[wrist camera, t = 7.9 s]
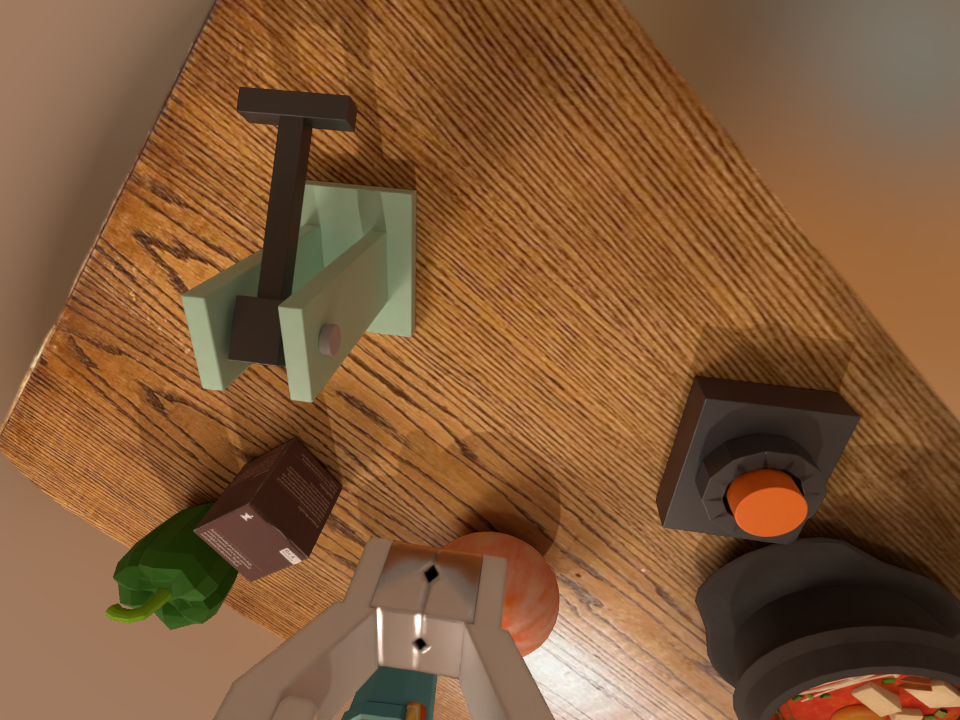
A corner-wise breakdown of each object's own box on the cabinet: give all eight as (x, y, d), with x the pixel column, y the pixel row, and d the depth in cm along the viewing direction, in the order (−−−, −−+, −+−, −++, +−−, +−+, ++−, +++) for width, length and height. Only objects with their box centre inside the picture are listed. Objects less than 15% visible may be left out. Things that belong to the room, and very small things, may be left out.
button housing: (694, 375, 33) (714, 414, 29) (839, 392, 32) (878, 435, 28) (655, 500, 38) (667, 548, 34) (778, 517, 38) (805, 567, 34)
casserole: (635, 579, 43) (652, 682, 35) (864, 476, 35) (946, 580, 28) (786, 724, 50) (827, 835, 42) (1005, 664, 42) (1100, 786, 35)
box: (244, 461, 42) (189, 530, 35) (297, 434, 40) (248, 502, 33) (293, 511, 44) (249, 584, 37) (345, 488, 42) (308, 561, 35)
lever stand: (284, 177, 30) (128, 233, 19) (416, 190, 30) (335, 254, 18) (300, 316, 35) (180, 427, 23) (415, 329, 34) (349, 450, 23)
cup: (429, 672, 53) (389, 865, 40) (358, 647, 52) (294, 835, 39) (476, 595, 46) (447, 797, 33) (396, 565, 46) (333, 760, 32)
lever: (259, 107, 24) (230, 77, 22) (362, 115, 24) (344, 86, 21) (227, 357, 24) (195, 356, 22) (330, 370, 24) (309, 370, 21)
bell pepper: (277, 521, 45) (211, 628, 36) (242, 567, 48) (174, 674, 40) (190, 471, 43) (99, 570, 34) (160, 523, 47) (71, 623, 38)
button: (737, 463, 31) (747, 483, 29) (805, 472, 31) (819, 492, 29) (718, 511, 33) (726, 532, 31) (782, 520, 33) (793, 541, 31)
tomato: (449, 492, 41) (427, 577, 34) (578, 531, 41) (583, 623, 34) (420, 577, 46) (397, 665, 39) (535, 610, 46) (532, 704, 39)
